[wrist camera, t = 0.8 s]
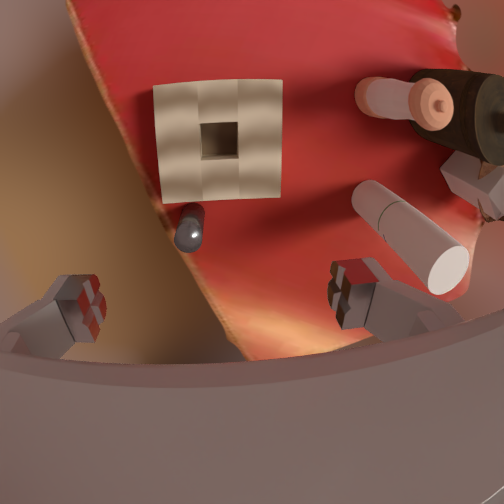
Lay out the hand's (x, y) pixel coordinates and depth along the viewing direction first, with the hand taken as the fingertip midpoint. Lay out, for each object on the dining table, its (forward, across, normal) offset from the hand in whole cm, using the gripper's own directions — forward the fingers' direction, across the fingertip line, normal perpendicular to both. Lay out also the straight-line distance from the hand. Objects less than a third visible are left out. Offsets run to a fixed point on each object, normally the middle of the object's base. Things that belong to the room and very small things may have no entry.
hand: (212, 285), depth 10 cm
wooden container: (+39, -40, -10) cm, 57 cm away
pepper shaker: (+39, -26, -9) cm, 48 cm away
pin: (+40, +5, +12) cm, 42 cm away
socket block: (+39, 0, -1) cm, 39 cm away
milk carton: (+40, -49, +3) cm, 63 cm away
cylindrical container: (+40, -27, +10) cm, 49 cm away
